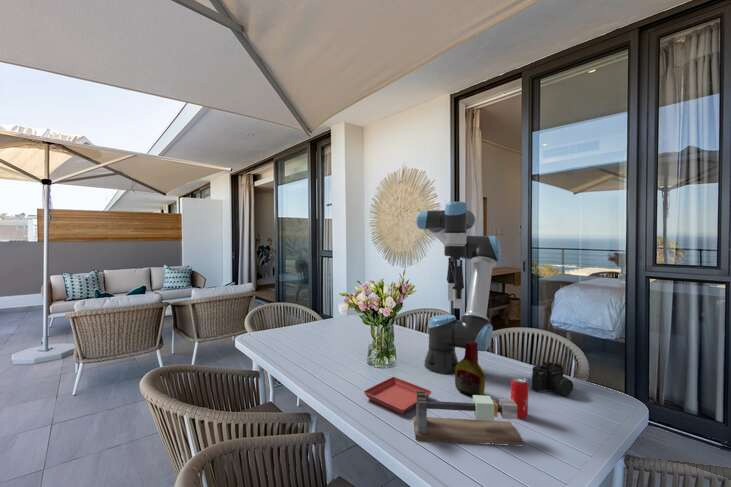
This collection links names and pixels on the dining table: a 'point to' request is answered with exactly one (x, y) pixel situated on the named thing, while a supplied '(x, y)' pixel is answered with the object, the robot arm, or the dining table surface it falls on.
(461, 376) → the bottle
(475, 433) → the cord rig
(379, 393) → the plant saucer
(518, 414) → the beverage can
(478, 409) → the sleeve
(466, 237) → the robot arm
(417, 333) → the dining table surface
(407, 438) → the dining table surface
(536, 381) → the camera
